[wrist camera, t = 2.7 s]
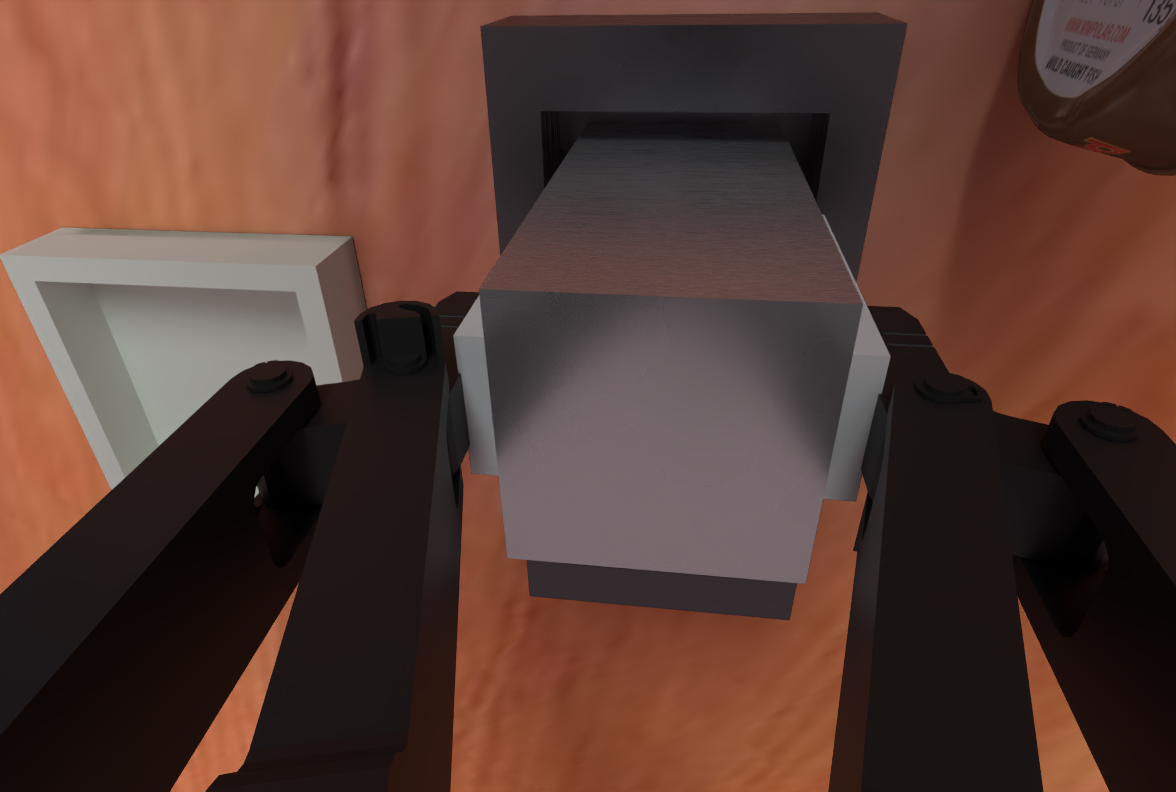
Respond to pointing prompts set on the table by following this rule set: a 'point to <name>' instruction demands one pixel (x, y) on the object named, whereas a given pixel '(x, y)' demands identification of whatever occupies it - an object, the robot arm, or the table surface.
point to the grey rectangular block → (669, 355)
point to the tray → (180, 321)
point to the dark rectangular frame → (691, 96)
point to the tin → (1104, 77)
